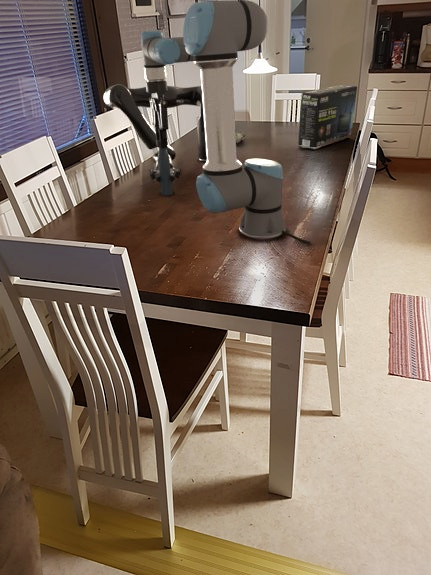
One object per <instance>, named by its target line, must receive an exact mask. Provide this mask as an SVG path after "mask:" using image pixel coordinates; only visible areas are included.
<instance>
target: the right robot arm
mask: <svg viewBox="0 0 431 575" xmlns="http://www.w3.org/2000/svg"><path fill="white" fill-rule="evenodd" d="M268 31H269V20H268V17H267V14H266V12H265V11H264V9H263V8H262V7H261V6H260V5H259V4H258V3H256V2H254V1H251V0H205V1H197V2H194V3H192V4H191V5H190V6H189V8H188V9H187V11H186V15H185V16H184V21H183V27H182V32H183V33H182V36H176V37H175V36H174V37H164V34H163V31H161V30H144V31H141V34H140V40H141V41H140V45H141V52H142V59H143V61H142V62H143V70H144V71H143V72H144V79H145V87H146V90H147V92H148V93H152V97H150V98H149V100H150V106H151V108H150V114H151V123H152V126H153V127H154V131H155V133H156V143H157V140H158V139H160V147H161V149H163V148H168V145H169V142H168V130H169V129H170V128H169V115H168V108H167V101H165V98H164V96H163V93H164V92H167V86H168V81H167V80H166V79H167V72H168V69H167V68H166V66H167V65H174V64H178V63H188V62H193V64H194V65H195V66H197V67H198V69H199V72H200V86H201V87H202V100H203V113H204V126H205V139H206V152H207V162H205V163H204V164H203V165H202V167H201V168H202V173H201V174H200V175H198V176H197V178H196V181H195V182H196V183H195V184H196V192H197V195H198V198H199V200H200V202H201V204H202V205H203V207H204V209H205V210H207V211H208V212H209V213H211V214H219V213H226V212H228V211H232V210H237V209H242V208H244V211H243V213H242V216H241V220H240V222H239V225H238V232H239V235H240V236H241V237H242V238H244V239H247V240H250V241H254V242H271V241H277V240H279V239H281V238H283V237H285V235H286V236H288V237H290V238H292V239H293V240H296V241H297V242H300V243H303V244H307V245H310V244H311V241H310V240H307V239H303V238H300V237H298V236H296V235H294V234H292V233H290V232H288V231H287V223H286V221H285V216H284V214H283V210H282V200H283V181H284V172H283V171H284V169H283V166H282V164H280V162H277V161H275V160H270V159H265V158H248V159H246V160H245V161H244V163H242V162H241V161H240V160H239V159H238V158H237V157H238V156H237V144H236V133H235V130H236V116H235V115H236V114H235V94H234V74H233V73H234V71H233V67H234V65H235V64H236V62H238V60H239V56H238V52H245V51H250V50H254V49H256V48H257V47H259V46H260V45H261V44H262V43H264V41H265V40H266V37H267V35H268Z"/></svg>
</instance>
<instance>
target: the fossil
mask: <svg viewBox="0 0 431 575" xmlns="http://www.w3.org/2000/svg"><path fill="white" fill-rule="evenodd" d="M235 133H236V143H237V144H239V143H240V142H241V141H242V140H243V139H242V138H243V137H245V136H246V132H244V131H242V130H237V129H235ZM246 137H247V136H246ZM246 137H245V138H246ZM238 142H239V143H238Z"/></svg>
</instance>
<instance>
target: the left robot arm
mask: <svg viewBox="0 0 431 575" xmlns="http://www.w3.org/2000/svg"><path fill="white" fill-rule="evenodd" d="M163 96H164V98H165V101H167V109H172V108H177V107H179V106H195V107H199V110H200V111H199V115H198V116H197V117H196V130H197V148H198V149H197V150H198V161H200V162H205V163H206V162H207V152H206V139H205V126H204V113H203V100H202V87H201V85H198V86H189V87H182V86H175V85H167V92H164V93H163ZM150 97H152V93H148V92H147V90H146V86H143V87H135V88H131V87H130V88H129V87H127V86H125V85H124V84H120V83H117V84H114V85H111V86H109V87H108V88H107V89H106V90H105V91H104V93H103V101H104V103H105V104H106V106H108V107H109V108H111V109H113V110H120V111H121V112H122V113H123V114H124V115H125V116H126V117H127V119H128V120H129V122H130V123H131V126H132V127H133V130H134V132H135V133H136V135H137V137H138V138H139V139H140V140H141V142H142V143H143V144H144V146H145V147H146V148H147V149H148V150H155V149H156V148H158V147H157V143H156V133H155V129H154V128H153V127H152V125H151V124H150V123H149V121H147V119H146V117H145V116H144V114H143V113H142V111H141V110H140V108H146V109H147V108H149V109H151V106H150V100H149V98H150ZM166 149H167V151H168V154H169V158H170V168H171V180H172V182H174V181H175V180H176V179H179V178H180V177H181V176H182V175H183V174H182V173H183V172H182V167H178V168H175V166H174V162H173V161H174V160H175V159H176V157H177V154H176V151H175V149H174V148H173V147H171V146H170V145H169V144H168V148H166ZM158 152H159V151H158V150H157V151H156V152H155V153H153V155H152V162H153V163H154V164H155V169H154V170H153V169H148V170H147V172H148V177H149V178H150V179H151V180H152V181H155V182H157V183H160V180H159V170H158V160H157V159H158V158H157V157H158Z"/></svg>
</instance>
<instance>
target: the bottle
mask: <svg viewBox="0 0 431 575" xmlns="http://www.w3.org/2000/svg"><path fill="white" fill-rule="evenodd" d="M157 151H159V152H158V157H157V158H158V159H157V160H158V170H159V180H160V182H159V188H160V195H161V196H164V197H166V196H172V195H173V194H174V193H173V183H172V182H173V181H172V180H171V168H170V158H169V154H168V151H167V149H166V148H163V149H161V148H159V147H158V150H157Z"/></svg>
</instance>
